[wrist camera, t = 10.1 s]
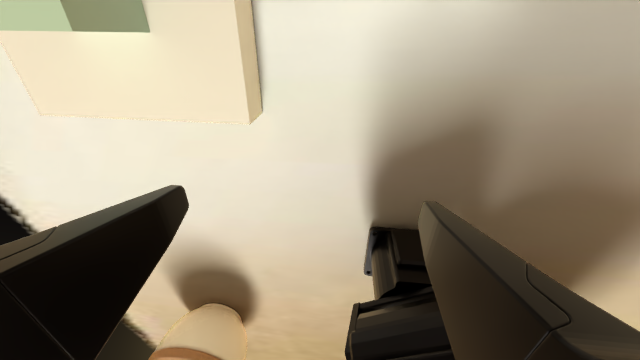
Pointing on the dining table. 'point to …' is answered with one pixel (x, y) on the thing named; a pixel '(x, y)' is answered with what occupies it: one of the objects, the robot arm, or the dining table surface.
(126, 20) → the green cube
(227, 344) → the lidded jar
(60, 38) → the cream square slab
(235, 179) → the dining table surface
